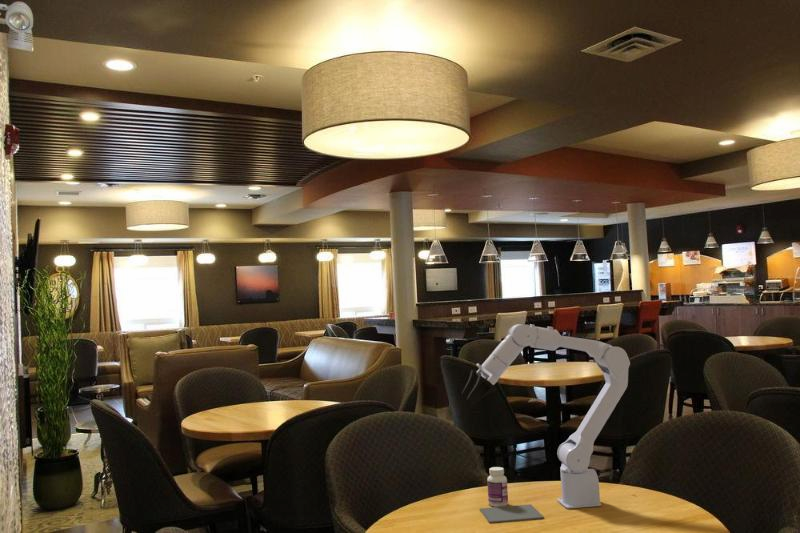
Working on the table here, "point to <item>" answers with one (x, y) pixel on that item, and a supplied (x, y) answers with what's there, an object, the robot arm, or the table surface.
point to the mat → (511, 513)
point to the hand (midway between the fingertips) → (467, 399)
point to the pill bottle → (497, 487)
